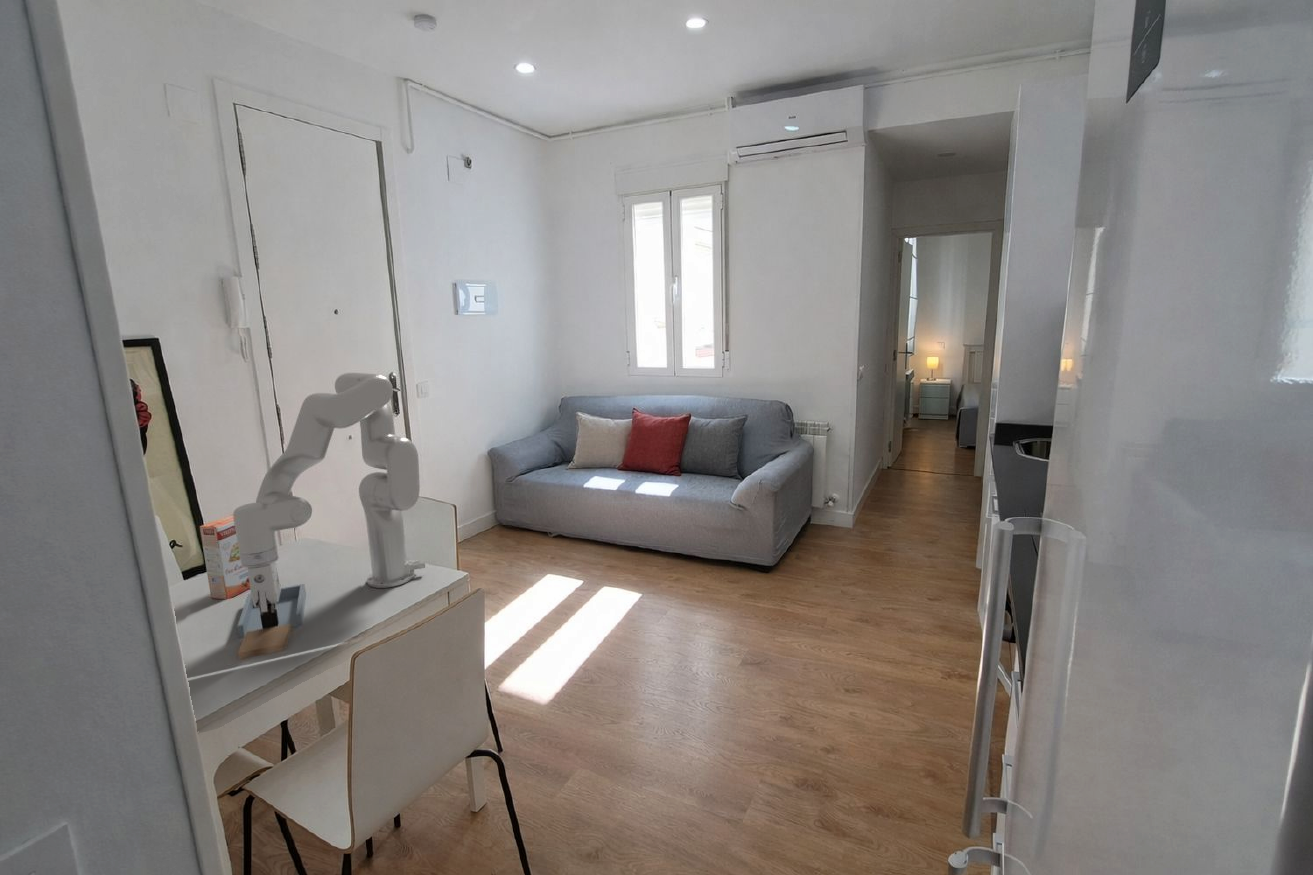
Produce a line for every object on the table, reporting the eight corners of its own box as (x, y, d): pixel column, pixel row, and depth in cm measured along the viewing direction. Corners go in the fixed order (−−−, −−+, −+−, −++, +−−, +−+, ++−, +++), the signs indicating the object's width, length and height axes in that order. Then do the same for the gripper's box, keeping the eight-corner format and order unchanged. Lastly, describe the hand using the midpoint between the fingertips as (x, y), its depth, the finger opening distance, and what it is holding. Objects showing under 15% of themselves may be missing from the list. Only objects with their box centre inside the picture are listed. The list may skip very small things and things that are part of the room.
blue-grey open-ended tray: (306, 595, 167) (304, 583, 166) (302, 626, 150) (300, 613, 149) (250, 606, 161) (248, 594, 160) (239, 639, 144) (237, 626, 144)
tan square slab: (292, 633, 148) (290, 623, 147) (285, 653, 139) (284, 643, 138) (248, 641, 145) (246, 631, 144) (239, 662, 136) (237, 652, 135)
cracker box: (229, 600, 164) (216, 527, 160) (210, 599, 165) (197, 526, 161) (271, 578, 178) (260, 510, 173) (253, 577, 179) (242, 509, 175)
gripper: (274, 563, 138) (286, 637, 142) (280, 542, 151) (291, 610, 155) (235, 570, 135) (248, 645, 139) (245, 547, 148) (256, 617, 152)
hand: (270, 626), depth 147 cm, fingers closed
